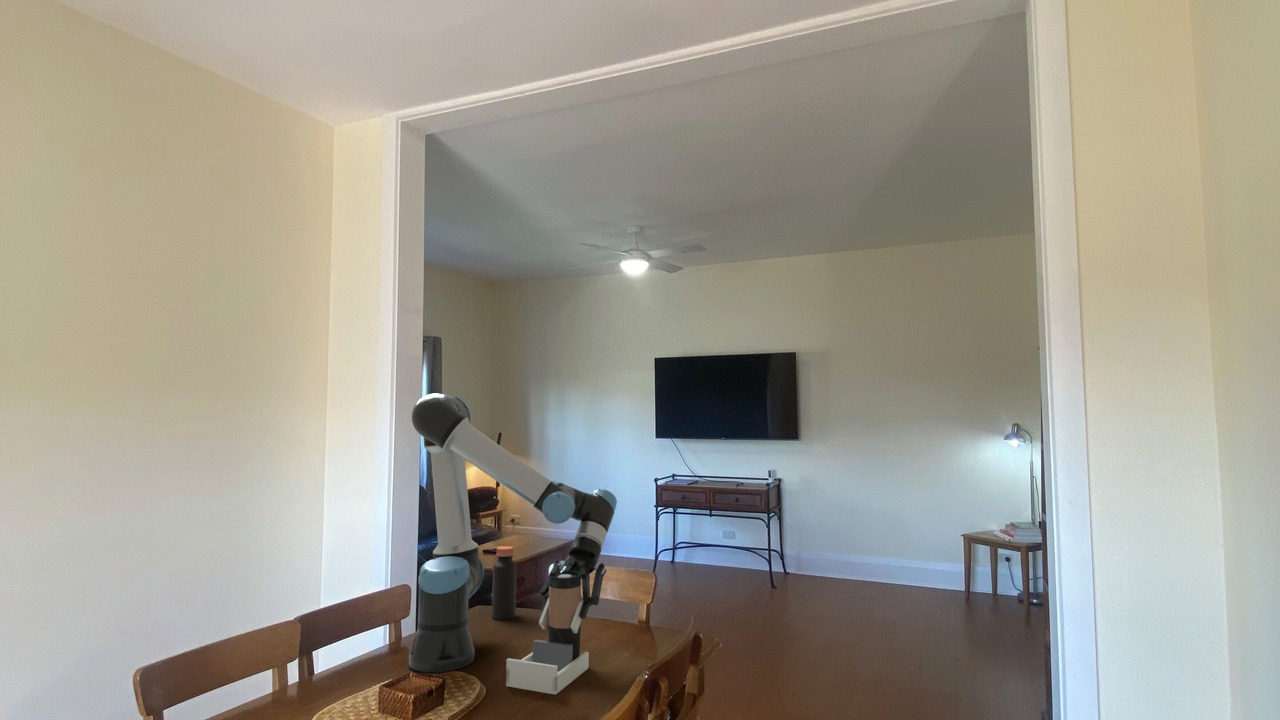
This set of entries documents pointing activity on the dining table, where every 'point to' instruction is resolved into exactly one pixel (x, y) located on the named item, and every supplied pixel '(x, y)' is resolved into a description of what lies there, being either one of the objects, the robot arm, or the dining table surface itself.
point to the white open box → (543, 674)
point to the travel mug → (564, 608)
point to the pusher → (552, 653)
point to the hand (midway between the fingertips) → (557, 628)
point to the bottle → (504, 585)
